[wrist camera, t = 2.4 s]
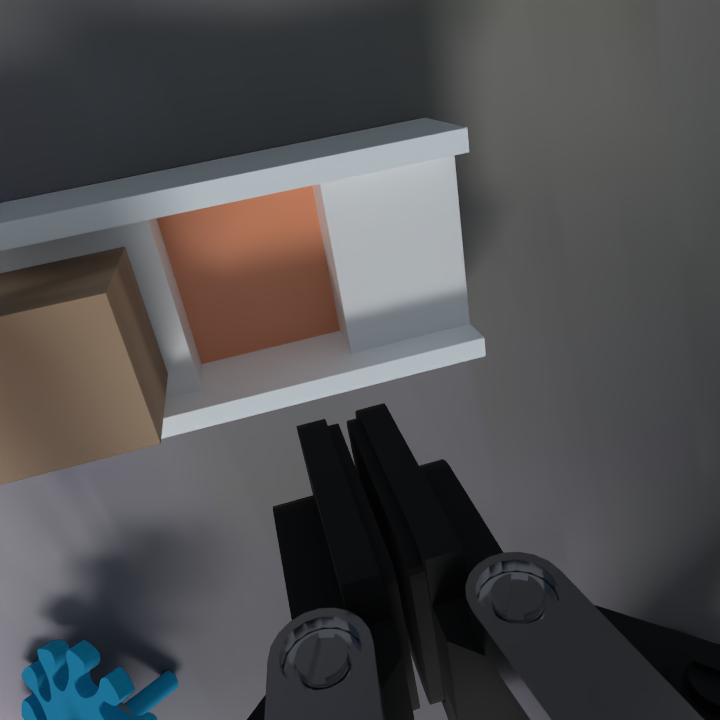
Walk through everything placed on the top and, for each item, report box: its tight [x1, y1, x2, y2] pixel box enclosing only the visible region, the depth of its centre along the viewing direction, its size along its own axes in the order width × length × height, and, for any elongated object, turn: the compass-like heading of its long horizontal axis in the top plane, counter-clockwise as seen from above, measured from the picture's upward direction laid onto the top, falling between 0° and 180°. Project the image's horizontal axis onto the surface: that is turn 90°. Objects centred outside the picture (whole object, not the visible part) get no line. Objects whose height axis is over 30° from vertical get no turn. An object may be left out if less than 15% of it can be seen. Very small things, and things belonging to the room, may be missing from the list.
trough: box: [0, 118, 486, 439], centre depth 23 cm, size 26×9×4 cm, turn 99°
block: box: [0, 247, 168, 485], centre depth 20 cm, size 5×5×5 cm
